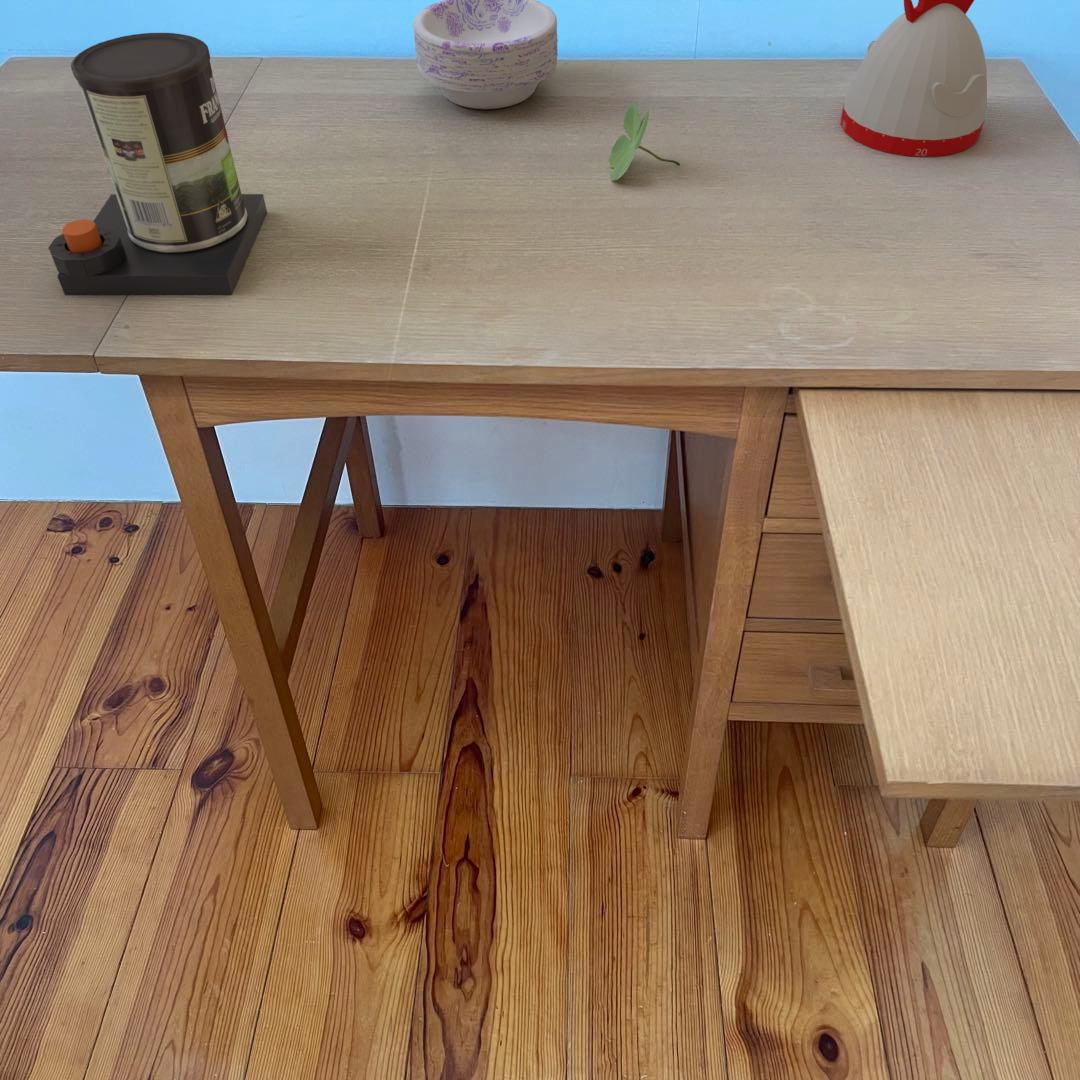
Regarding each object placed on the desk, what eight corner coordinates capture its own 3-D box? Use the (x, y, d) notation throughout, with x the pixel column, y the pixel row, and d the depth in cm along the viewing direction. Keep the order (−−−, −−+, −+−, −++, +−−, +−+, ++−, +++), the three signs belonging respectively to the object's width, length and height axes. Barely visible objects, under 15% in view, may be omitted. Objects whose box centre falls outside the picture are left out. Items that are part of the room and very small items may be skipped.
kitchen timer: (1007, 143, 101) (1061, -21, 90) (888, 166, 98) (929, -1, 87) (926, 91, 110) (966, -64, 99) (815, 110, 107) (844, -47, 96)
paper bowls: (457, 134, 104) (451, 53, 98) (398, 83, 113) (389, 8, 108) (583, 102, 109) (584, 24, 103) (516, 57, 118) (514, -17, 113)
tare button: (64, 254, 82) (57, 235, 81) (75, 238, 84) (68, 219, 82) (96, 254, 82) (89, 234, 81) (106, 238, 84) (99, 218, 82)
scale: (54, 297, 83) (39, 259, 81) (109, 213, 93) (97, 177, 91) (231, 297, 83) (221, 259, 80) (267, 213, 93) (259, 176, 90)
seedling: (647, 216, 101) (594, 189, 98) (665, 143, 102) (613, 114, 99) (690, 197, 95) (634, 167, 92) (709, 119, 96) (655, 87, 93)
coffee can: (247, 189, 92) (209, 26, 82) (248, 246, 85) (206, 74, 75) (131, 202, 90) (77, 37, 80) (122, 260, 83) (62, 87, 73)
